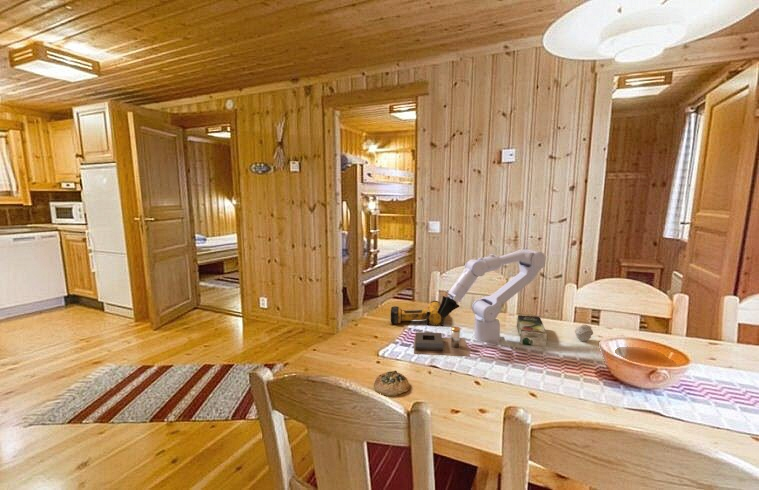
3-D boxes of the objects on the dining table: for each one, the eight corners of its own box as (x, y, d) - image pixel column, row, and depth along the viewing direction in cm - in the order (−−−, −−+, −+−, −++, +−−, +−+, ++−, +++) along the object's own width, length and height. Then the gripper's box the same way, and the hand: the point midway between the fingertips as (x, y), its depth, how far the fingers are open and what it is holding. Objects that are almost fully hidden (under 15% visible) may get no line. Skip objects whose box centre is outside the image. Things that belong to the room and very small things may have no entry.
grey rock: (580, 344, 136) (582, 327, 135) (570, 337, 143) (571, 321, 142) (596, 344, 137) (597, 327, 136) (585, 337, 144) (586, 320, 143)
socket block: (441, 340, 139) (441, 333, 139) (442, 351, 129) (442, 343, 129) (415, 339, 140) (415, 332, 140) (415, 350, 130) (415, 342, 130)
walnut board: (464, 340, 141) (464, 338, 141) (470, 358, 125) (470, 356, 125) (414, 338, 143) (414, 336, 143) (413, 356, 128) (413, 353, 127)
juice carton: (548, 348, 134) (548, 332, 133) (520, 345, 137) (521, 330, 136) (540, 329, 153) (540, 316, 152) (516, 327, 156) (516, 314, 155)
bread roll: (388, 373, 116) (389, 360, 114) (416, 389, 109) (418, 375, 108) (365, 389, 107) (366, 375, 106) (394, 407, 100) (396, 392, 99)
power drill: (392, 309, 182) (441, 309, 180) (390, 326, 158) (446, 327, 157) (392, 295, 181) (441, 296, 179) (390, 311, 158) (447, 311, 156)
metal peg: (459, 344, 135) (459, 326, 134) (460, 348, 132) (460, 329, 131) (450, 344, 135) (451, 326, 134) (451, 347, 132) (451, 329, 131)
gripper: (450, 280, 143) (430, 307, 142) (456, 280, 129) (434, 310, 128) (464, 290, 142) (444, 318, 142) (472, 292, 128) (450, 322, 127)
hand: (440, 315), depth 135 cm, fingers open, 7 cm apart
